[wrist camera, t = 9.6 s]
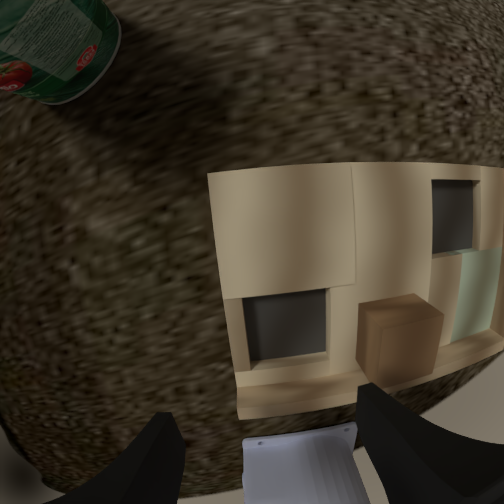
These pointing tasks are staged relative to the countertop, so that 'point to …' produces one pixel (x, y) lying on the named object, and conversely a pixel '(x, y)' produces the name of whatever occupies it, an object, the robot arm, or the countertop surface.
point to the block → (397, 339)
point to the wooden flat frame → (351, 270)
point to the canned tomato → (55, 47)
